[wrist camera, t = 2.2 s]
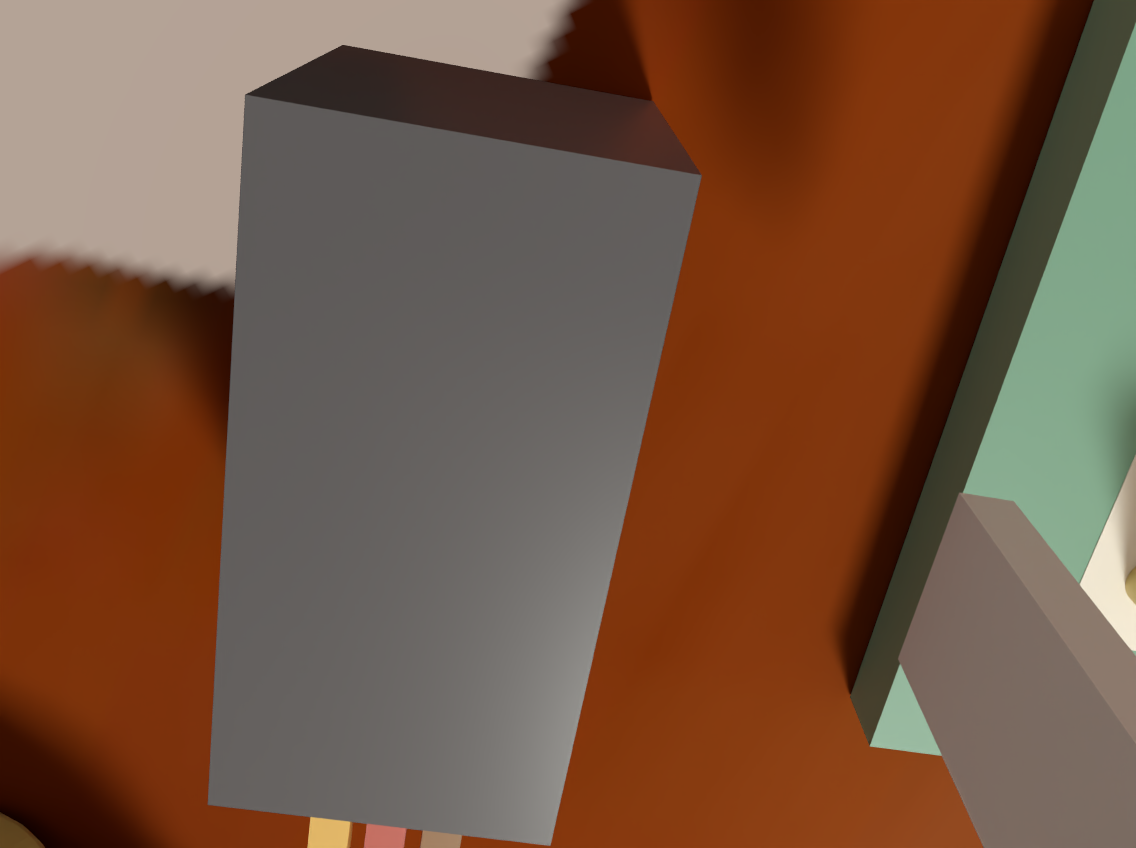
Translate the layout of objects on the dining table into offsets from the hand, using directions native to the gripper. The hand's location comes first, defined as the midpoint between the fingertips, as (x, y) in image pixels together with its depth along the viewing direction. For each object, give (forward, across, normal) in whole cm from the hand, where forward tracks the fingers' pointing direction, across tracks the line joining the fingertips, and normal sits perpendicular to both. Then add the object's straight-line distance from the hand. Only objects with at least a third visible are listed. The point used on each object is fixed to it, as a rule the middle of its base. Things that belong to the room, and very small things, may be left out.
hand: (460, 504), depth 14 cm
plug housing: (+5, +1, +2) cm, 6 cm away
